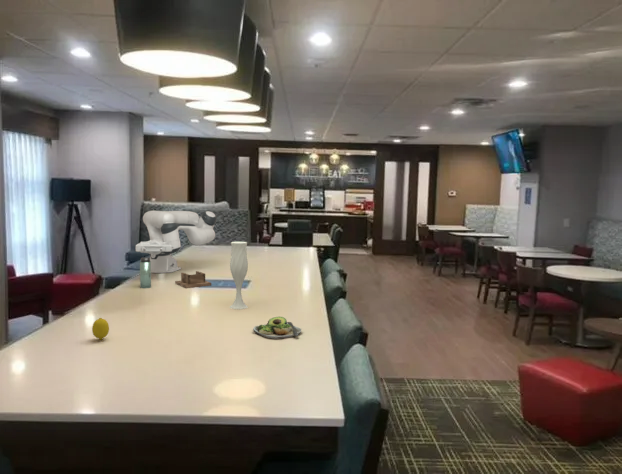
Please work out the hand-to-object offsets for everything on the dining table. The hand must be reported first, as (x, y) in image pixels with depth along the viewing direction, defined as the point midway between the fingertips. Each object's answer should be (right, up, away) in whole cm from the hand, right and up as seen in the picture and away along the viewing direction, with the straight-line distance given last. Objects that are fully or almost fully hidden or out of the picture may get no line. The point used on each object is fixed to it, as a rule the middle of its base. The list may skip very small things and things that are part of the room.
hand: (152, 249), depth 284 cm
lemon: (+14, -30, -103) cm, 108 cm away
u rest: (+23, -20, 0) cm, 30 cm away
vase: (+56, -26, -50) cm, 79 cm away
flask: (-1, -20, -10) cm, 23 cm away
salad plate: (+76, -30, -89) cm, 121 cm away
